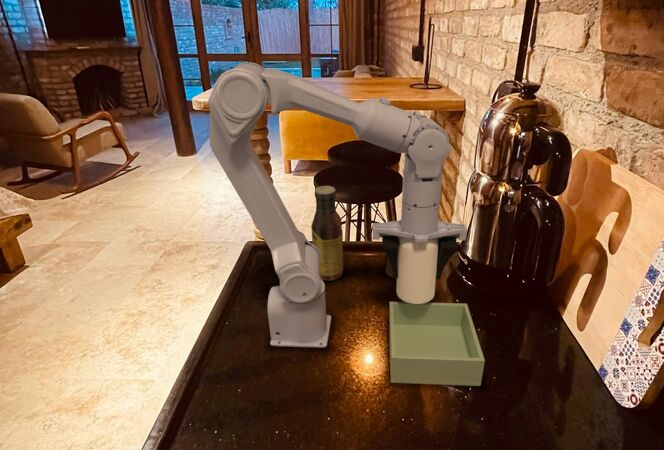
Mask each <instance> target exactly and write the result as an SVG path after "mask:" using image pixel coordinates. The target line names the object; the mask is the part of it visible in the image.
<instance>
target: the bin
mask: <svg viewBox="0 0 664 450" xmlns="http://www.w3.org/2000/svg"><path fill="white" fill-rule="evenodd" d="M388 307H389V310H388V312H389V313H388V338H389V339H388V340H389V343H388V344H389V364H390V365H389V369H390V370H389V371H390V372H389V373H390V375H389V376H390V383H391V384H415V385H419V384H420V385H443V386H444V385H445V386H446V385H447V386H469V387H470V386H471V387H472V386H473V387H481V385H482V379H483V373H484V367H485V364H486V363H485V362H486V359H485V357H484V353H483V351H482V347H481V344H480V340H479V338H478V334H477V332H476V329H475V324H474V322H473V318H472V315H471V312H470V309H469V305H468V303H458V302H457V303H456V302H455V303H453V302H427V303H425V304H420V305H414V304H409V303H406V302H404V301H389V306H388Z"/></svg>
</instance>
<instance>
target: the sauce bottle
mask: <svg viewBox="0 0 664 450" xmlns="http://www.w3.org/2000/svg"><path fill="white" fill-rule="evenodd" d="M336 191H337V190H336V188H335V187H334V186H331V185H320V186H318V187H316V188H315V189H314V197H315V205H316V207H315V213H314V216H313V219H312V222H311V225H310V227H311V241H312V242H311V244H313V245H314V246H316V247H317V249H318V250H319V252H320V255H321V261H320V278H321V280H322V281H323V282H324V281H326V282H333V281H337V280H339V279H340V278H341V277H342V276H343V274H344V238H343V236H344V235H343V233H344V232H343V222H342V218H341V215H339V213H338V212H337V210H336V209H337V206H336V196H337V193H336Z"/></svg>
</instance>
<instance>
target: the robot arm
mask: <svg viewBox="0 0 664 450" xmlns="http://www.w3.org/2000/svg"><path fill="white" fill-rule="evenodd" d="M207 103H208V107H209V146H210V150H211V151H212V153H213V155H214V156H215V158H216V160H217V161H218V163H219V165H220V167H221V168H222V170H223V172H224V173H225V175H226V177H227V179H228V180H229V182H230V183H231V185H232V187H233V189H234V191H235V192H236V194H237V195H238V198H239V199H240V201H241V202H242V204H243V206H244V207H245V209H246V211H247V212H248V214H249V216H250V218H251V220H252V221H253V223H254V224H255V226H256V228H257V229H258V231H259V233H260V235H261V236H262V238H263V240H264V241H265V243H266V245H267V246H268V248H269V250H270V252H271V257H272V261H273V266H274V271H275V273H276V275H277V276H278V279H279V285H275V286H272V287H271V288H270V289H269V292H268V298H267V319H268V325H269V334H270V342H269V344H270V347H286V348H287V347H288V348H316V349H317V348H319V349H324V348H326V347H327V346H328V342H329V335H330V328H331V323H332V315H330V314H327V305H326V304H327V301H326V300H327V299H326V285H325V283H324V280H321V278H320V261H321V255H320V252H319V250H318V249H317V247H316V246H314V245H313V244H312V242H310V241H309V240H308V239H307V237H306V236H305V233H304V232H303V231H300V230H298V227H297V226H296V224H295V222H294V221H293V219H292V217H291V215H290V213H289V211H288V209H287V207H286V205H285V204H284V202H283V200H282V198H281V196H280V194H279V192H278V190H277V189H276V187H275V185H274V183H273V181H272V179H271V177H270V176H269V173H268V171H267V170H266V168H265V166H264V164H263V162H262V161H261V159H260V157H259V155H258V153H257V151H256V149H255V148H254V145H253V144H252V142H251V139H252V136H253V133H254V130H255V127H256V125H257V123H258V120H259V119H260V117H262V115H263V114H264V112H265V110H266V109H267V106H268V105H270V107H271V115H272V114H277V113H280V112H285V111H288V110H291V109H299V110H302V111H305V112H308V113H311V114H314V115H317V116H320V117H323V118H327V119H329V120H332V121H334V122H335V121H336V122H338V123H342V124H345V125H347V126H351V128H352V130H353V132H354V135H355V138H357V139H359V140H361V141H364V142H366V143H369V144H373V145H375V146H377V147H378V146H379V147H381V148H383V149H385V150H388V151H391V152H395V153H396V154H404V165H403V166H404V168H403V171H402V190H401V191H402V195H401V215H400V219H398V220H392V221H386V222H385V221H384V222H373V223H372V240H380V239H381V243H382V244H381V245H382V249H383V251H384V253H385V254H386V256H387V258H389V261H390V263H391V267H392V270H393V278H392V279H394V280H397V279H398V267H397V261H398V238H401V237H405V238H411V239H414V241H415V242H428V239H432V238H438V258H437V270H436V280H441V278H442V274H443V272H444V269H445V267H446V265H447V264H448V262H449V261H450V259H451V258H452V257H453V255H454V254H455V253H456V252H457V250H458V242H457V239H458V241H467V234H468V229H467V226H466V224H465V223H455V222H447V221H442V220H439V217H440V206H441V195H442V185H443V174H444V173H443V169H444V162H445V161H446V160H447V159H448V157H449V156H450V153H451V151H452V147H453V146H452V144H450V138H449V134H448V133H447V131H446V130H445V129H444V128H443V127H441V126H440V125H439V124H438V123H437V122H436V121H435V120H433V119H431V118H429V117H428V116H427V115H425V114H424V115H423V114H422V113H421V112H419V111H417V110H414V111H413V112H409V111H407V110H404V109H403V108H399V107H397V106H394V105H392V104H391V103H392V102H391V100H390V99H389V98H387V97H385V96H380V97H379V99H376V98H375V97H370V98H367V99H365V100H363V101H360V102H357V101H355V100H353V99H351V98H348V97H346V96H344V95H341V94H339V93H337V92H334V91H332V90H331V89H327V88H325V87H323V86H321V85H318V84H316V83H314V82H311V81H309V80H306V79H304V78H302V77H300V76H298V75H295V74H292V73H289V72H286V71H283V70H279V69H276V68H273V67H267V68H264V67H263V66H262V65H260V64H258V63H255V62H251V61H249V62H248V61H247V62H246V61H245V62H241V63H239V64H237V65H235V66H234V67H233V68H230V69H228V70H226V71H224V72H222V73H221V74H220V75H219V77H218V78H217V79H216V81H215V84H214V86H213V88H212V90H211V92H210V95H209V97H208V100H207Z"/></svg>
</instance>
